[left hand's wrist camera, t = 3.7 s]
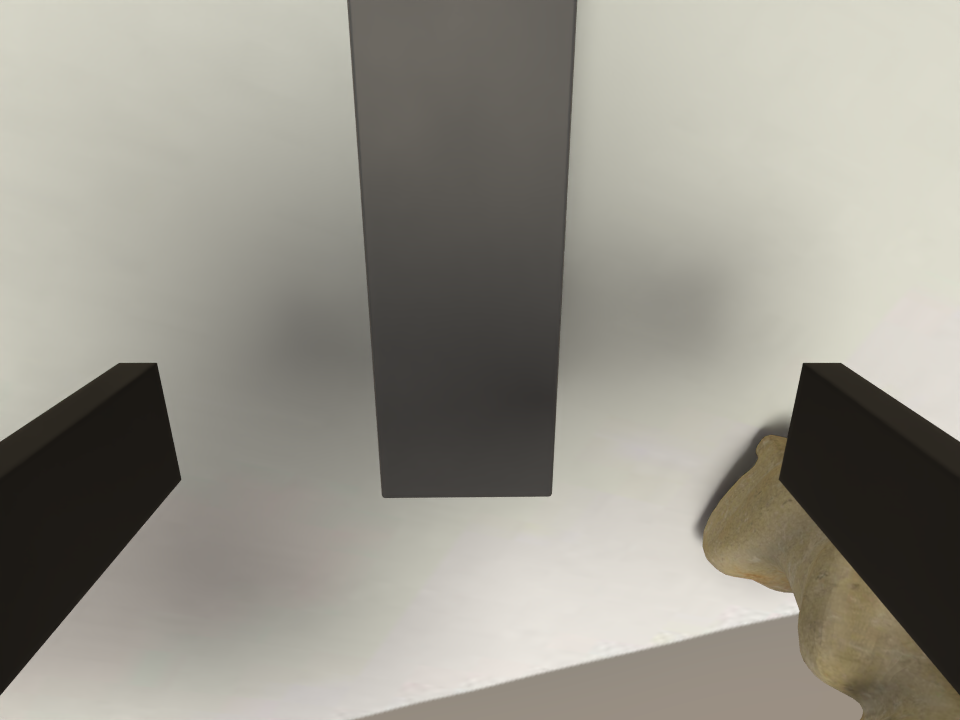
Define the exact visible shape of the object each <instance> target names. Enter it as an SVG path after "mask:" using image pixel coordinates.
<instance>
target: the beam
mask: <svg viewBox="0 0 960 720" xmlns="http://www.w3.org/2000/svg"><path fill="white" fill-rule="evenodd" d="M347 3H348V18H349V32H350V46H351V60H352V75H353V89H354V103H355V118H356V132H357V146H358V160H359V175H360V189H361V203H362V218H363V232H364V246H365V260H366V275H367V289H368V303H369V317H370V332H371V346H372V360H373V375H374V389H375V403H376V417H377V432H378V446H379V460H380V475H381V489H382V496H383V497H384V498H425V497H536V496H551V494H552V481H553V461H554V442H555V422H556V403H557V383H558V364H559V344H560V325H561V305H562V286H563V266H564V247H565V227H566V208H567V189H568V169H569V150H570V130H571V111H572V91H573V72H574V52H575V33H576V13H577V0H347Z"/></svg>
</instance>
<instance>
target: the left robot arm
mask: <svg viewBox="0 0 960 720" xmlns="http://www.w3.org/2000/svg"><path fill="white" fill-rule="evenodd" d="M180 481H181V475H180V471H179V466H178V461H177V456H176V452H175V447H174V442H173V437H172V432H171V428H170V423H169V418H168V413H167V409H166V404H165V399H164V394H163V390H162V385H161V380H160V375H159V371H158V366H157V363H118V364H117V365H115V366H114V367H112V368H111V369H109V370H108V371H106V372H105V373H103V374H102V375H100V376H99V377H97V378H96V379H94V380H93V381H91V382H90V383H88V384H87V385H85V386H84V387H82V388H81V389H79V390H78V391H76V392H75V393H73V394H72V395H70V396H69V397H67V398H66V399H64V400H63V401H61V402H60V403H58V404H57V405H55V406H54V407H52V408H51V409H49V410H48V411H46V412H45V413H43V414H42V415H40V416H39V417H37V418H35V419H34V420H32V421H31V422H29V423H28V424H26V425H25V426H23V427H22V428H20V429H19V430H17V431H16V432H14V433H13V434H11V435H10V436H8V437H7V438H5V439H4V440H2V441H1V442H0V695H1V694H2V693H3V692H4V690H5V689H6V688H7V687H8V686H9V684H10V683H11V682H12V681H13V680H14V678H15V677H16V676H17V675H18V674H19V672H20V671H21V670H22V669H23V668H24V667H25V665H26V664H27V663H28V662H29V661H30V659H31V658H32V657H33V656H34V655H35V653H36V652H37V651H38V650H39V649H40V647H41V646H42V645H43V644H44V643H45V641H46V640H47V639H48V638H49V637H50V636H51V634H52V633H53V632H54V631H55V630H56V628H57V627H58V626H59V625H60V624H61V622H62V621H63V620H64V619H65V618H66V616H67V615H68V614H69V613H70V612H71V611H72V609H73V608H74V607H75V606H76V605H77V603H78V602H79V601H80V600H81V599H82V597H83V596H84V595H85V594H86V593H87V591H88V590H89V589H90V588H91V587H92V586H93V584H94V583H95V582H96V581H97V580H98V578H99V577H100V576H101V575H102V574H103V572H104V571H105V570H106V569H107V568H108V566H109V565H110V564H111V563H112V562H113V560H114V559H115V558H116V557H117V556H118V555H119V553H120V552H121V551H122V550H123V549H124V547H125V546H126V545H127V544H128V543H129V541H130V540H131V539H132V538H133V537H134V535H135V534H136V533H137V532H138V531H139V530H140V528H141V527H142V526H143V525H144V524H145V522H146V521H147V520H148V519H149V518H150V516H151V515H152V514H153V513H154V512H155V510H156V509H157V508H158V507H159V506H160V504H161V503H162V502H163V501H164V500H165V499H166V497H167V496H168V495H169V494H170V493H171V491H172V490H173V489H174V488H175V487H176V485H177V484H178V483H179V482H180ZM779 481H780V482H781V483H782V484H783V485H784V487H785V488H786V489H787V490H788V491H789V493H790V494H791V495H792V496H793V497H794V499H795V500H796V501H797V502H798V503H799V504H800V506H801V507H802V508H803V509H804V510H805V512H806V513H807V514H808V515H809V516H810V518H811V519H812V520H813V521H814V522H815V524H816V525H817V526H818V527H819V528H820V530H821V531H822V532H823V533H824V534H825V535H826V537H827V538H828V539H829V540H830V541H831V543H832V544H833V545H834V546H835V547H836V549H837V550H838V551H839V552H840V553H841V555H842V556H843V557H844V558H845V559H846V560H847V562H848V563H849V564H850V565H851V566H852V568H853V569H854V570H855V571H856V572H857V574H858V575H859V576H860V577H861V578H862V580H863V581H864V582H865V583H866V584H867V586H868V587H869V588H870V589H871V590H872V591H873V593H874V594H875V595H876V596H877V597H878V599H879V600H880V601H881V602H882V603H883V605H884V606H885V607H886V608H887V609H888V611H889V612H890V613H891V614H892V615H893V616H894V618H895V619H896V620H897V621H898V622H899V624H900V625H901V626H902V627H903V628H904V630H905V631H906V632H907V633H908V634H909V636H910V637H911V638H912V639H913V640H914V641H915V643H916V644H917V645H918V646H919V647H920V649H921V650H922V651H923V652H924V653H925V655H926V656H927V657H928V658H929V659H930V661H931V662H932V663H933V664H934V665H935V667H936V668H937V669H938V670H939V671H940V672H941V674H942V675H943V676H944V677H945V678H946V680H947V681H948V682H949V683H950V684H951V686H952V687H953V688H954V689H955V690H956V692H957V693H958V694H959V695H960V442H959V441H958V440H956V439H955V438H953V437H952V436H950V435H949V434H947V433H946V432H944V431H943V430H941V429H940V428H938V427H937V426H935V425H934V424H932V423H931V422H929V421H928V420H926V419H925V418H923V417H921V416H920V415H918V414H917V413H915V412H914V411H912V410H911V409H909V408H908V407H906V406H905V405H903V404H902V403H900V402H899V401H897V400H896V399H894V398H893V397H891V396H890V395H888V394H887V393H885V392H884V391H882V390H881V389H879V388H878V387H876V386H875V385H873V384H872V383H870V382H869V381H867V380H866V379H864V378H863V377H861V376H860V375H858V374H857V373H855V372H854V371H852V370H851V369H849V368H848V367H846V366H845V365H843V364H842V363H803V366H802V371H801V375H800V380H799V385H798V390H797V394H796V399H795V404H794V409H793V413H792V418H791V423H790V428H789V432H788V437H787V442H786V447H785V452H784V456H783V461H782V466H781V471H780V475H779Z"/></svg>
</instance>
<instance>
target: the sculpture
mask: <svg viewBox="0 0 960 720" xmlns="http://www.w3.org/2000/svg"><path fill="white" fill-rule="evenodd" d="M786 442H787V438H785V437H780V436H775V435H768V436H765V437H764V438H763V439H762V440H761V441H760V443H759V444H758V446H757V448H756V454H757V456H758V460H757V462H756V464H755V465H754V466H753V467H752V468H751V469H750V470H749V471H748V472H747V473H745V474H744V475H743V476H742V477H741V478H740V479H739V480H738V481H737V482H736V483H735V484H734V485H733V486H732V487H731V489H730V490H729V491H728V492H727V493H726V494H725V495H724V496H723V498H722V499H721V500H720V502H719V503H718V505H717V506H716V508H715V509H714V510H713V512H712V514H711V515H710V517H709V520H708V522H707V524H706V527H705V529H704V533H703V549H704V553H705V556H706V558H707V560H708V561H709V562H710V563H711V564H712V565H713V566H714V567H715V568H716V569H718V570H719V571H720V572H722V573H724V574H726V575H730V576H733V577H740V578H746V579H752V580H754V581H756V582H758V583H760V584H762V585H764V586H766V587H768V588H770V589H773V590H776V591H781V592H788V593H794V596H795V599H796V602H797V605H798V607H799V610H800V612H799V619H798V634H799V645H800V652H801V655H802V658H803V660H804V662H805V663H806V665H807V666H808V668H809V669H810V670H811V671H812V672H813V674H814V675H815V676H816V677H818V678H819V679H820V680H821V681H823V682H824V683H826V684H828V685H829V686H831V687H833V688H835V689H837V690H839V691H840V692H842V693H844V694H846V695H848V696H850V697H852V698H853V699H855V700H856V701H857V702H858V703H860V705H861V707H862V709H863V715H862V718H861V719H860V720H960V695H959V694H958V693H957V692H956V690H955V689H954V688H953V687H952V686H951V684H950V683H949V682H948V681H947V680H946V678H945V677H944V676H943V675H942V674H941V672H940V671H939V670H938V669H937V668H936V667H935V665H934V664H933V663H932V662H931V661H930V659H929V658H928V657H927V656H926V655H925V653H924V652H923V651H922V650H921V649H920V647H919V646H918V645H917V644H916V643H915V641H914V640H913V639H912V638H911V637H910V636H909V634H908V633H907V632H906V631H905V630H904V628H903V627H902V626H901V625H900V624H899V622H898V621H897V620H896V619H895V618H894V616H893V615H892V614H891V613H890V612H889V611H888V609H887V608H886V607H885V606H884V605H883V603H882V602H881V601H880V600H879V599H878V597H877V596H876V595H875V594H874V593H873V591H872V590H871V589H870V588H869V587H868V586H867V584H866V583H865V582H864V581H863V580H862V578H861V577H860V576H859V575H858V574H857V572H856V571H855V570H854V569H853V568H852V566H851V565H850V564H849V563H848V562H847V560H846V559H845V558H844V557H843V556H842V555H841V553H840V552H839V551H838V550H837V549H836V547H835V546H834V545H833V544H832V543H831V541H830V540H829V539H828V538H827V537H826V535H825V534H824V533H823V532H822V531H821V530H820V528H819V527H818V526H817V525H816V524H815V522H814V521H813V520H812V519H811V518H810V516H809V515H808V514H807V513H806V512H805V510H804V509H803V508H802V507H801V506H800V504H799V503H798V502H797V501H796V500H795V499H794V497H793V496H792V495H791V494H790V493H789V491H788V490H787V489H786V488H785V487H784V485H783V484H782V483H781V482H780V481H779V475H780V471H781V466H782V461H783V456H784V452H785V447H786Z"/></svg>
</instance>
